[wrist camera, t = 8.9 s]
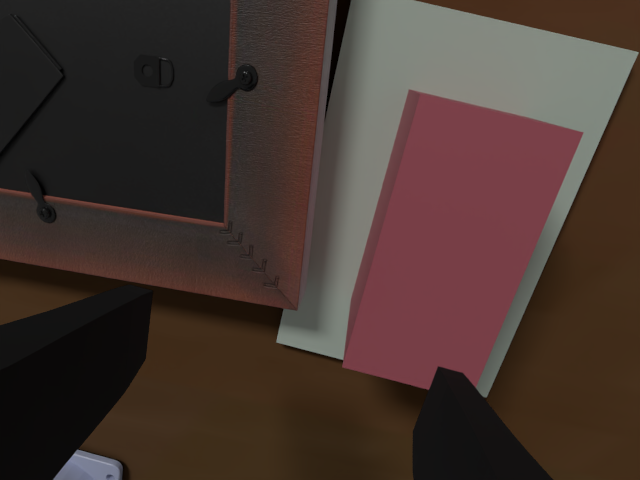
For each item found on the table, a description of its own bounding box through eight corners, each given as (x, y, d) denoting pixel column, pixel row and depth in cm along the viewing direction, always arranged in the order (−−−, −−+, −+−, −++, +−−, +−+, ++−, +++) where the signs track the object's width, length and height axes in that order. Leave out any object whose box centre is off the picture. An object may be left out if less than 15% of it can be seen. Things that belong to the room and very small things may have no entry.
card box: (408, 89, 17) (420, 93, 12) (526, 116, 17) (583, 132, 12) (350, 299, 20) (342, 367, 15) (448, 324, 20) (470, 400, 15)
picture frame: (-123, 214, 22) (307, 286, 20) (-183, 230, 20) (296, 314, 18) (-227, -215, 17) (359, -184, 14) (-329, -264, 14) (352, -235, 12)
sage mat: (483, 389, 21) (486, 397, 21) (278, 335, 22) (276, 342, 21) (629, 53, 16) (638, 52, 16) (355, -11, 16) (353, -14, 16)
